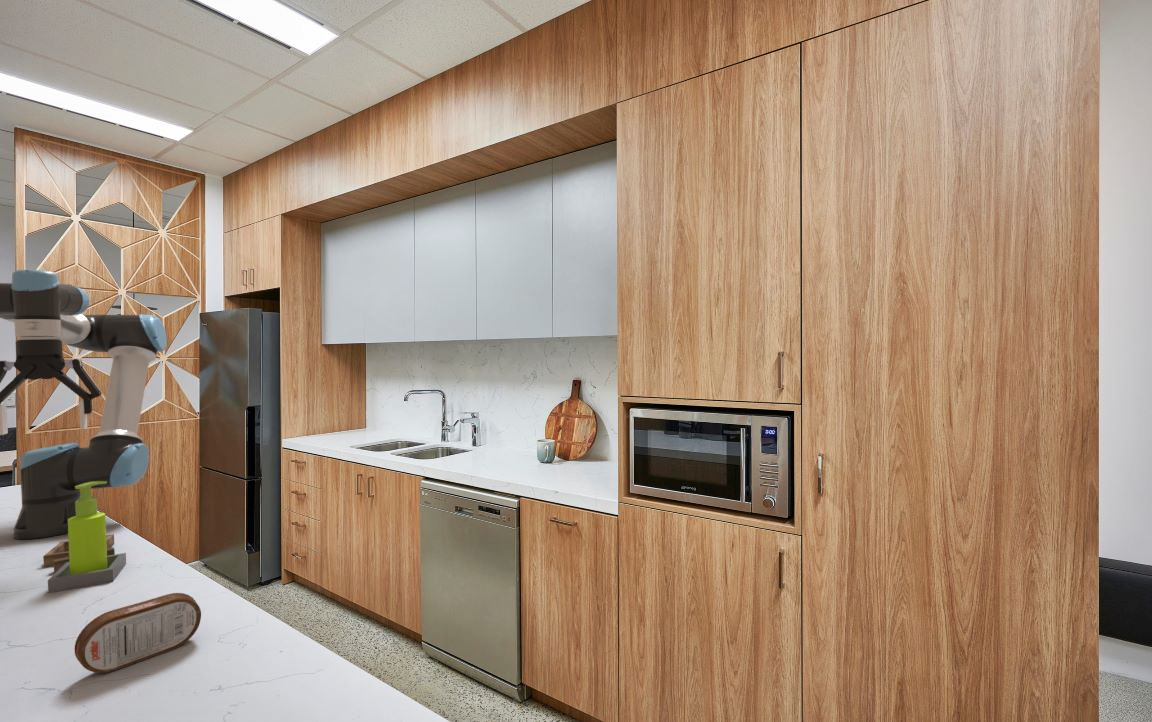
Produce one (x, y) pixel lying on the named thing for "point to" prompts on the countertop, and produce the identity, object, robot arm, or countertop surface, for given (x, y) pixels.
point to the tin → (137, 632)
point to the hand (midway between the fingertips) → (44, 431)
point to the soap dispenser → (87, 533)
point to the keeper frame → (86, 575)
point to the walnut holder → (67, 551)
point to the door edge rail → (60, 562)
